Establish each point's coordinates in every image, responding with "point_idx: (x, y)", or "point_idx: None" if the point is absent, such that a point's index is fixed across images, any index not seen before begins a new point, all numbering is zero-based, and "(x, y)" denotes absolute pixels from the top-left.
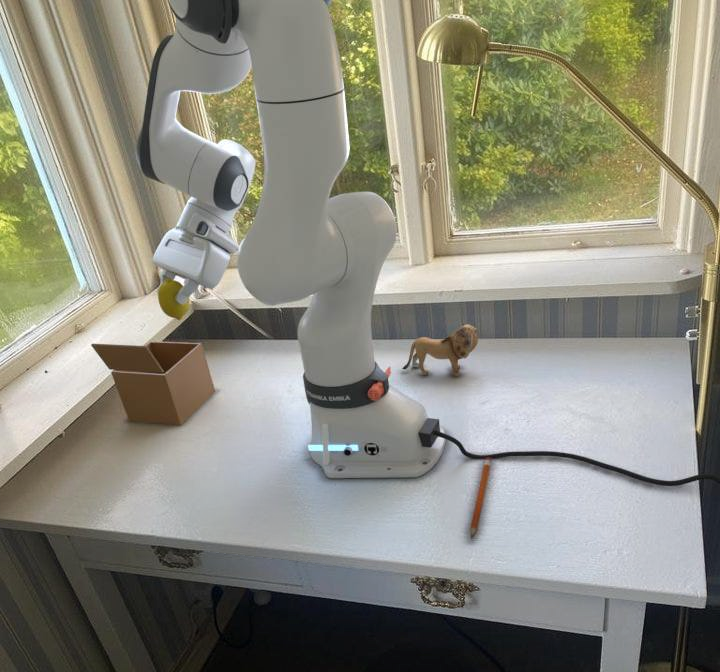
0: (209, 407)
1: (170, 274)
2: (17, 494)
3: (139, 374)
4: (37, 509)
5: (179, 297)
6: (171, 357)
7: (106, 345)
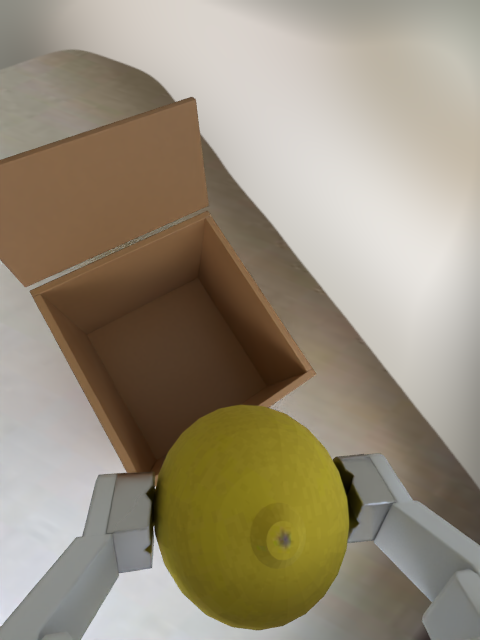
0: (95, 418)
1: (456, 633)
2: (127, 75)
3: (119, 250)
4: (56, 73)
5: (91, 503)
6: None
7: (129, 117)
